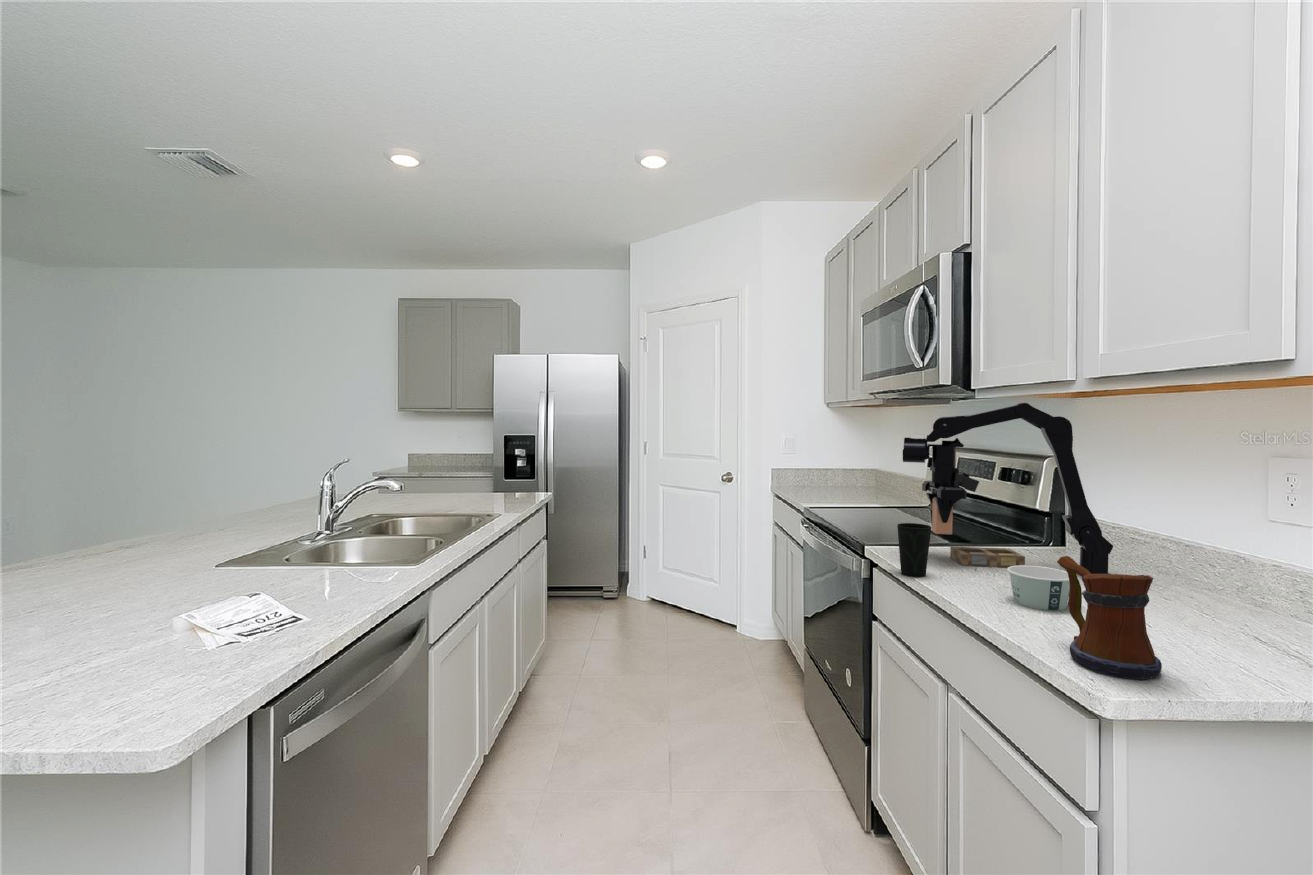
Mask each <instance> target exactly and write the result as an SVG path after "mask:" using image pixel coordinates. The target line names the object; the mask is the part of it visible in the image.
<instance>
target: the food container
mask: <svg viewBox="0 0 1313 875" xmlns="http://www.w3.org/2000/svg"><path fill="white" fill-rule="evenodd" d="M1006 571H1007V572H1008V573H1009V578H1010V584H1011V590H1012V596H1013V601H1014V602H1015V603H1017V604H1019V605H1021V606H1025V607H1027V608H1028V607H1029V608H1032V609H1039V610H1043V611H1044V610H1046V611H1062V610H1065V609H1066V608H1067V606H1068V599H1069V592H1070V583H1069V577H1068V573H1067V571H1066V570H1062V569H1058V568H1054V567H1047V566H1040V565H1039V566H1038V565H1026V564H1025V565H1018V566H1011V567H1008V568H1006Z"/></svg>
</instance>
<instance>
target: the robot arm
mask: <svg viewBox="0 0 1313 875" xmlns="http://www.w3.org/2000/svg"><path fill="white" fill-rule="evenodd" d="M1018 419H1021V420H1024V421H1025V422H1026V423H1027V424H1030V425H1033V426H1034V427H1035V428H1037V429H1039V430H1040V432H1041V434H1042V436H1043V437H1044V440H1045V441H1046V444H1047V445H1048V447H1049V449H1050V450H1051V452H1052V453H1053V457H1054V461H1055V465H1056V468H1057V471H1058V474H1059V475H1058V476H1059V478H1060V482H1061V486H1062V489H1063V493H1064V495H1065V499H1066V502H1067V507H1068V509H1067V512H1068V513H1067V514H1063V515H1061V517H1062V519H1063V521H1064V523H1065V531H1066V532H1067V533H1068V534H1069V535H1070V536H1071V537H1072V538H1073V539H1074V540H1075V541H1077V543H1078V545H1079V546H1080V548H1079V565H1080V566H1082V567H1084V568H1086V569H1087V570H1088V571H1089V572H1090V573H1091V574H1110V573H1109V554H1111V552H1112V550H1113V549H1114V545H1113V544H1112V543H1111V542H1110V541H1108V540H1107V538H1105V537H1104V536H1103V532H1102V529H1101V527H1100V525H1099V523H1098V521H1097V519H1096V518H1095V515H1094V514H1093V512H1092V510H1091V509H1090V507H1089V506H1088V503H1087V498H1086V495H1085V491H1084V488H1083V484H1082V480H1081V477H1080V474H1079V473H1080V472H1079V470H1078V466H1077V463H1076V462H1077V461H1076V460H1075V455H1074V452H1073V443H1074V439H1073V438H1074V437H1073V425H1072V422H1071V421H1070V420H1069V419H1067V418H1066V417H1064V416H1060V415H1059V416H1053V415H1051V414H1049V413H1047V412H1044V411H1042V410H1040V409H1038V408H1036V407H1034V406H1032V404H1029V403H1028V402H1019V403H1016V404H1014V405H1010V406H1005V407H1002V408H1001V407H1000V408H997V409H992V410H988V411H983V412H979V413H974V414H969V415H968V414H967V415H952V416H941V417H939V418H937V419H936V420H935V421H934V422H933V424H932V431H931V432H930V433H929V434H928V435H927V434H926V438H913V437H904V438H903V449H902V462H903V463H919V464H920V463H922V464H924V463H926V460H930V452H931V451H930V450H932V453H931V466H930V465H929V471H930V472H931V480H925V481H924V482H922V484H921V490H922V491H923V492H925V495H926V497H927V499H928V501H929V504H930V505H931V508H933V498H935V502H936V505H937V508H938V511H939V514H940V517H941V520H942V522H943V523H947V522H948V519H949V516H950V513H951V510H952V507H953V508H954V505H955V503H957V502H959V501H961V500H967V491H970V492H973V493H976V491H977V488H978V486H979V484H980V481H979V480H977V479H974V478H971V477H970V474H969V473H966V472H963V471H962V472H960V469H958V468H959V467H956V464H957V463H956V459H957V458H956V456H957V454H956V453H957V448H964V447H965V445H964V443H963V442H961V441H960V439H959V438H958V437H956V438H955V439H954V440H941V443H933V442H936V441H938V440H940V439H950V438H952V437H955V436H957V435H960V434H962V433H965V432H967V431H971V430H972V429H977V428H981V427H985V426H991V425H994V424H999V423H1005V422H1009V421H1013V420H1018ZM931 447H932V448H931ZM930 448H931V449H930ZM927 491H928V492H927Z"/></svg>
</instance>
